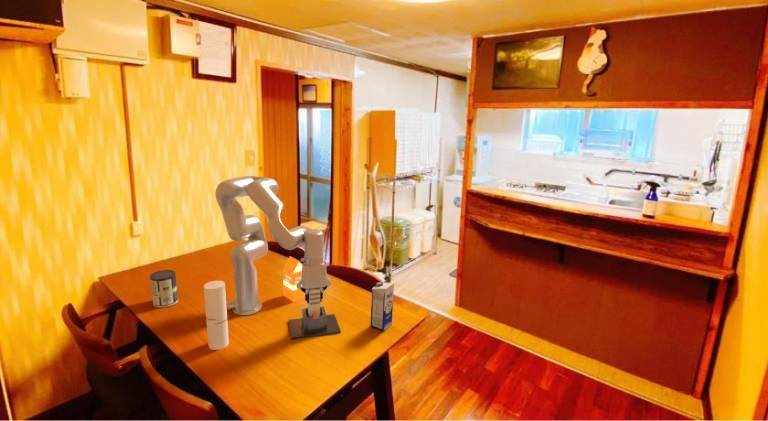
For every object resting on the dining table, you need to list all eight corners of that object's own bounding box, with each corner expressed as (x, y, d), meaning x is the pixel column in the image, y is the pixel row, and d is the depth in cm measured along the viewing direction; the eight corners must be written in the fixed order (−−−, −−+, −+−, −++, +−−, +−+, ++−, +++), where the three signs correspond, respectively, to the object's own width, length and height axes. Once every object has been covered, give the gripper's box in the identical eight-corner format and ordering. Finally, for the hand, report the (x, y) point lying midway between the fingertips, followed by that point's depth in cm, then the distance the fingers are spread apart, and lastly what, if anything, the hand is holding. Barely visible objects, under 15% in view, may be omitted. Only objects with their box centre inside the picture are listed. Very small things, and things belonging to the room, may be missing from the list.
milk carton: (383, 332, 159) (385, 288, 154) (370, 327, 162) (371, 284, 157) (392, 324, 165) (394, 282, 160) (379, 320, 168) (380, 278, 163)
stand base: (291, 339, 150) (290, 320, 148) (288, 321, 163) (288, 303, 161) (340, 333, 157) (341, 314, 155) (334, 316, 170) (334, 298, 167)
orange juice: (297, 291, 192) (296, 254, 187) (306, 297, 186) (306, 259, 181) (283, 295, 186) (282, 257, 181) (292, 302, 180) (292, 263, 175)
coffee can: (168, 295, 182) (165, 268, 178) (183, 300, 178) (180, 272, 174) (147, 304, 173) (144, 275, 169) (162, 309, 168) (159, 280, 165)
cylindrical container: (212, 339, 149) (207, 280, 143) (231, 338, 149) (227, 280, 143) (205, 350, 142) (200, 289, 136) (225, 349, 143) (221, 289, 136)
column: (309, 322, 156) (309, 291, 152) (308, 316, 160) (307, 286, 157) (320, 320, 157) (320, 290, 154) (318, 315, 162) (318, 285, 158)
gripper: (293, 265, 146) (294, 307, 151) (336, 261, 152) (335, 303, 156) (291, 258, 153) (292, 299, 158) (332, 255, 159) (332, 294, 163)
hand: (313, 300), depth 157 cm, fingers closed on column, 4 cm apart
